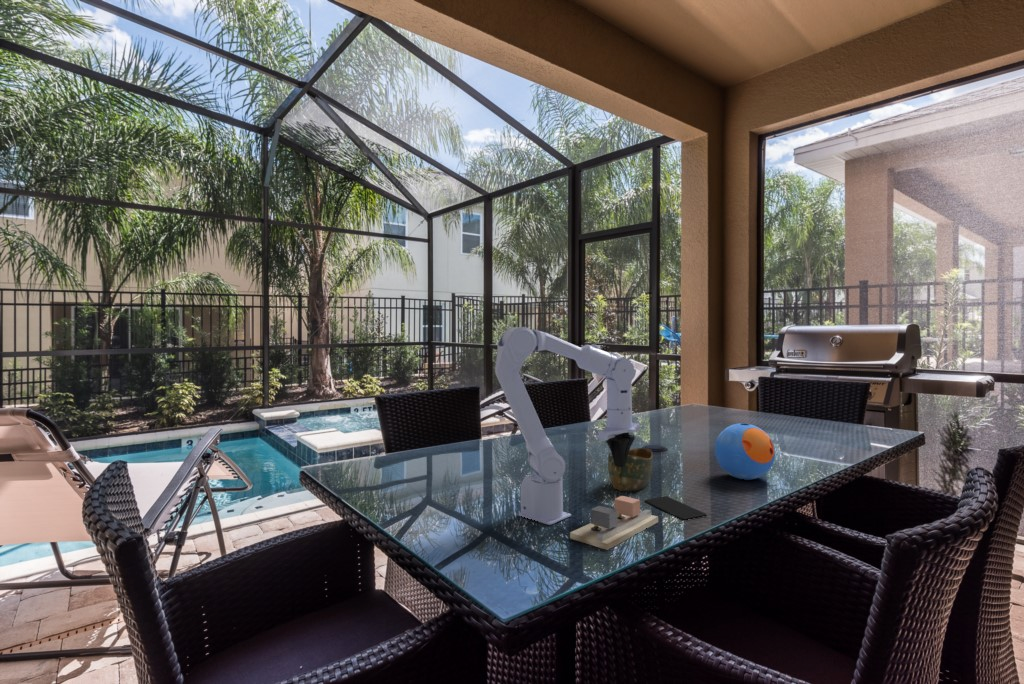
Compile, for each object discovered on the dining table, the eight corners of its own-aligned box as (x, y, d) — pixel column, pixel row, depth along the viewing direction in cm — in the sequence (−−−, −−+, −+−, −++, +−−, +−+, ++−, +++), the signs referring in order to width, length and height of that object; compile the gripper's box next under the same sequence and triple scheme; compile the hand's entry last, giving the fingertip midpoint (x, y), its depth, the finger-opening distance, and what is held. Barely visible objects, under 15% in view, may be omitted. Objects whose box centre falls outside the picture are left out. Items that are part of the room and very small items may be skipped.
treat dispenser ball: (747, 469, 161) (746, 418, 161) (788, 482, 146) (787, 426, 146) (703, 474, 156) (703, 421, 156) (741, 489, 142) (740, 430, 141)
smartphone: (683, 519, 119) (643, 499, 133) (683, 523, 119) (643, 503, 133) (708, 514, 122) (666, 495, 136) (708, 518, 122) (666, 499, 136)
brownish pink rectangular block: (613, 517, 118) (613, 498, 118) (621, 514, 120) (620, 495, 120) (632, 522, 114) (632, 503, 114) (640, 519, 117) (639, 499, 116)
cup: (585, 484, 148) (585, 448, 148) (641, 475, 157) (641, 440, 157) (616, 497, 137) (616, 458, 136) (674, 486, 146) (674, 449, 146)
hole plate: (570, 538, 110) (570, 532, 110) (622, 513, 125) (622, 507, 125) (607, 550, 104) (607, 543, 104) (658, 522, 119) (658, 516, 119)
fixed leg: (590, 529, 111) (589, 509, 111) (598, 525, 113) (598, 505, 113) (609, 534, 108) (609, 514, 108) (617, 530, 110) (617, 510, 110)
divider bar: (597, 539, 106) (597, 533, 106) (646, 514, 120) (646, 509, 120) (602, 541, 106) (602, 535, 106) (651, 515, 119) (651, 510, 119)
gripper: (617, 413, 118) (617, 475, 119) (650, 406, 129) (650, 462, 129) (590, 411, 123) (591, 470, 124) (624, 403, 134) (625, 458, 134)
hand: (620, 466), depth 127 cm, fingers closed
